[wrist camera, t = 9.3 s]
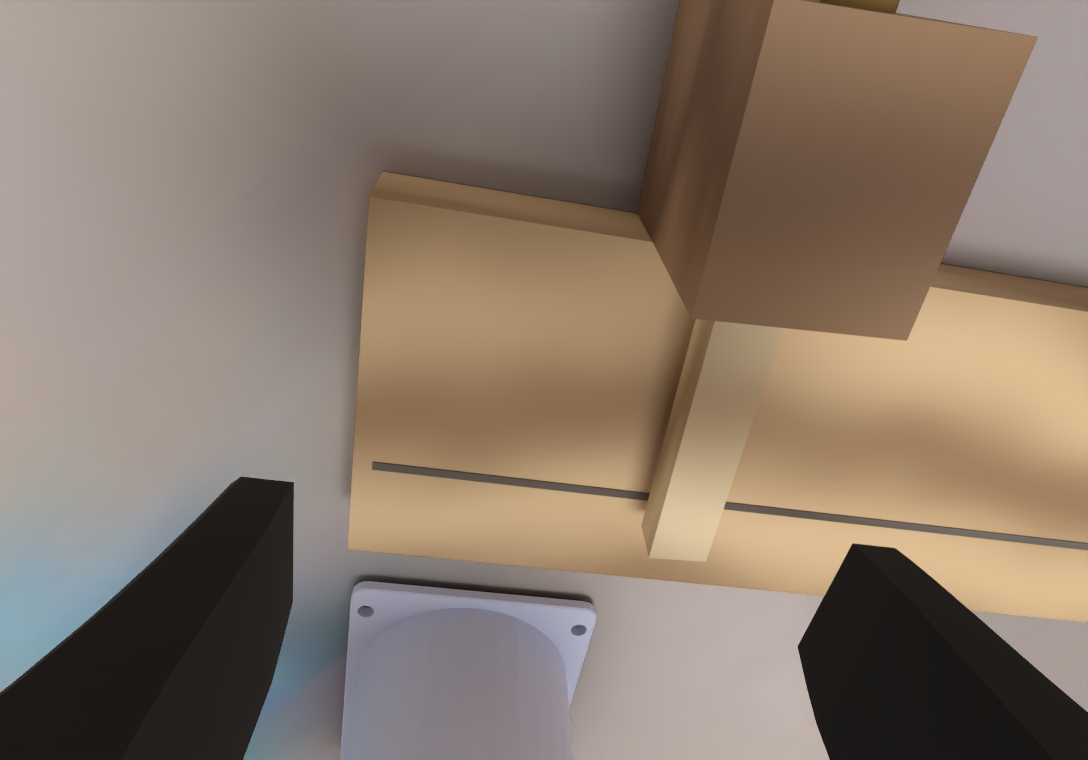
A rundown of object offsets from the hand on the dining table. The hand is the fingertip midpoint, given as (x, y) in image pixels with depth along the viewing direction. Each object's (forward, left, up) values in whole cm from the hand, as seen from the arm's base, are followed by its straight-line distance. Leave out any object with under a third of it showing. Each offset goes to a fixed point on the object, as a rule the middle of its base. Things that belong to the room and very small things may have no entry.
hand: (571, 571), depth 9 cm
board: (-3, -8, -10) cm, 14 cm away
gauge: (+1, -4, -11) cm, 11 cm away
